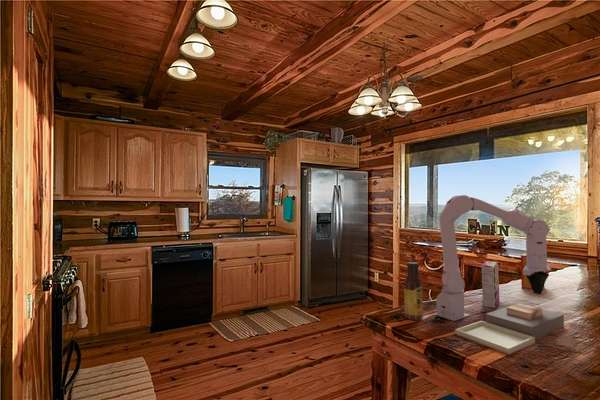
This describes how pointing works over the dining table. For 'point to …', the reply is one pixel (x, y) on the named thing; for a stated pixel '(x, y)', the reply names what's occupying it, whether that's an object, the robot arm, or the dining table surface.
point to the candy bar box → (490, 284)
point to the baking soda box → (524, 279)
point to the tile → (524, 311)
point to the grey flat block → (527, 322)
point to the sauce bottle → (413, 293)
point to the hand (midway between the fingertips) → (537, 293)
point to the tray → (495, 337)
